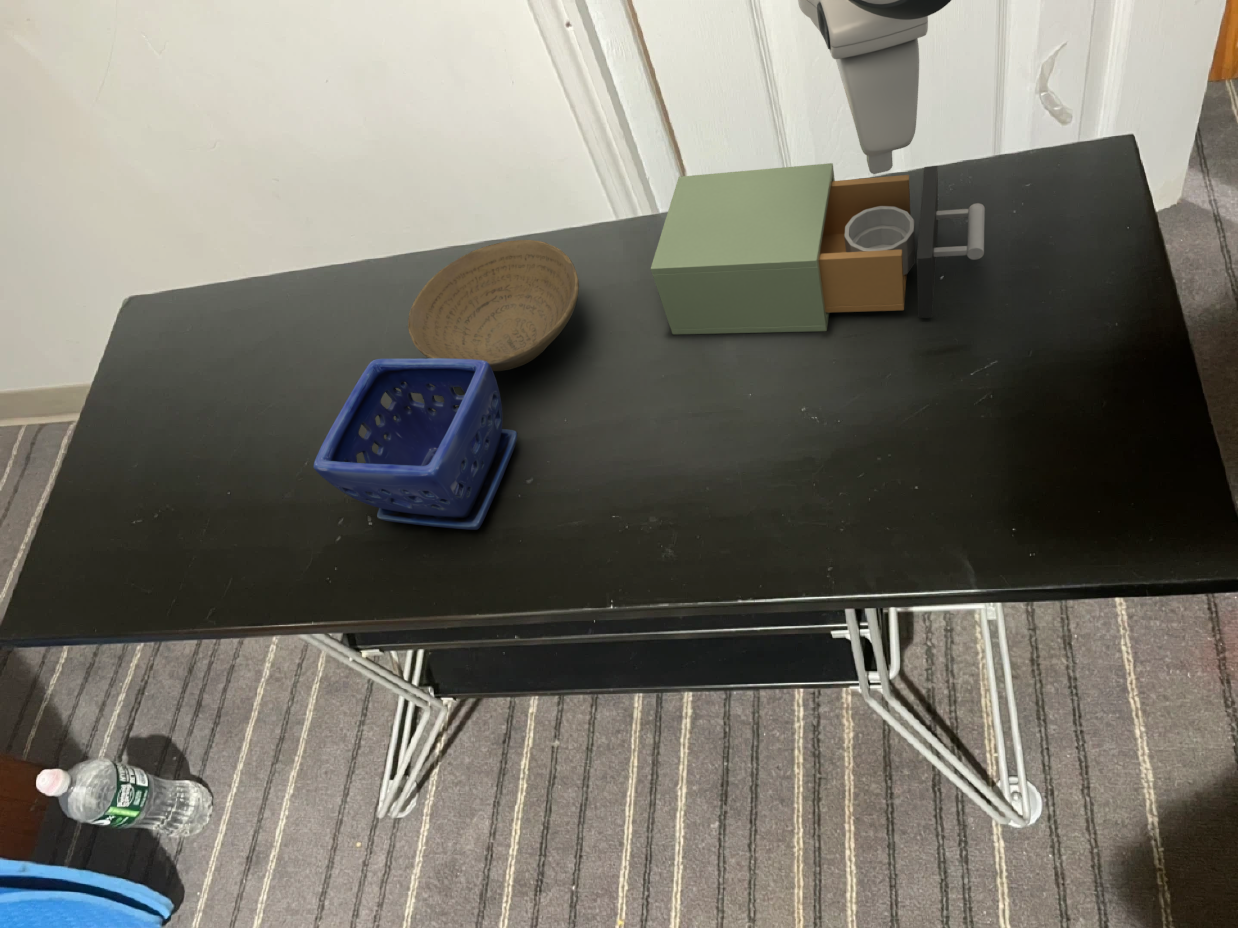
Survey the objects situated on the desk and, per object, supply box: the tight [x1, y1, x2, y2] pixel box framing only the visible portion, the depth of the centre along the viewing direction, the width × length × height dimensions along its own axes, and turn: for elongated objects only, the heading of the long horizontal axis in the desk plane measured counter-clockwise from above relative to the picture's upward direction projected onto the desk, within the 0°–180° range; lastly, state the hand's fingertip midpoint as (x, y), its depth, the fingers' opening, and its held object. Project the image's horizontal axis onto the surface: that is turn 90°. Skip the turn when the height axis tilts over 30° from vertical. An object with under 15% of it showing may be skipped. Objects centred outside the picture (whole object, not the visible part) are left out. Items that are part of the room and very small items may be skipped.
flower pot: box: [313, 357, 518, 531], centre depth 83 cm, size 13×13×12 cm
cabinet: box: [650, 162, 836, 335], centre depth 89 cm, size 16×14×9 cm
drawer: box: [818, 165, 986, 319], centre depth 84 cm, size 19×12×7 cm, turn 76°
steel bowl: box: [844, 206, 916, 276], centre depth 84 cm, size 6×6×4 cm
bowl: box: [407, 239, 580, 372], centre depth 94 cm, size 18×18×8 cm
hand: (869, 133), depth 74 cm, fingers open, 8 cm apart
